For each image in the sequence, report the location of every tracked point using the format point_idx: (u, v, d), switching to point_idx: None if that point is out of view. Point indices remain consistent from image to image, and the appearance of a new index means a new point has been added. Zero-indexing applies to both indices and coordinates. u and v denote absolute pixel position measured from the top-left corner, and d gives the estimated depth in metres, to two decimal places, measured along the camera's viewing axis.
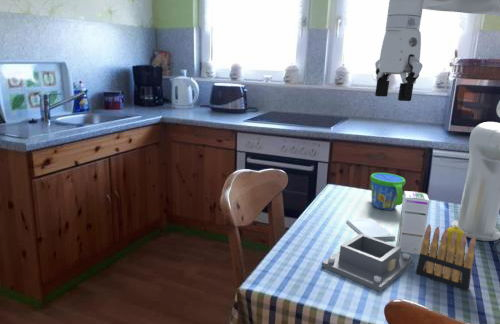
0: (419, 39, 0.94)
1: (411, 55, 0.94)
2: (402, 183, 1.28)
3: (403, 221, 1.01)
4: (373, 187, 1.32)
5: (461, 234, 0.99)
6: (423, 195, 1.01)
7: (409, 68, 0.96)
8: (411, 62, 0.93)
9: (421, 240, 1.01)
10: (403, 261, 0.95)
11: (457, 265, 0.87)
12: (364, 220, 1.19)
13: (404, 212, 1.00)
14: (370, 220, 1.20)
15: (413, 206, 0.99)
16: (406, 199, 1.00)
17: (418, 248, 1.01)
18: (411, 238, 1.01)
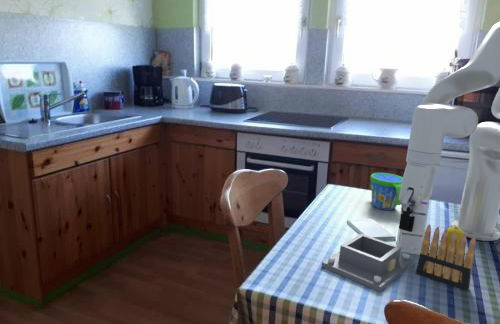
0: None
1: None
2: None
3: None
4: (373, 187, 1.32)
5: (461, 234, 0.99)
6: None
7: None
8: None
9: (421, 240, 1.01)
10: (403, 261, 0.95)
11: (457, 265, 0.87)
12: (364, 220, 1.19)
13: None
14: (370, 220, 1.20)
15: None
16: None
17: (418, 248, 1.01)
18: (411, 238, 1.01)
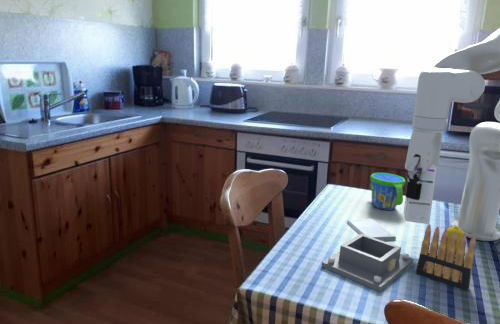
0: None
1: None
2: (402, 183, 1.28)
3: None
4: (373, 187, 1.32)
5: (461, 234, 0.99)
6: None
7: None
8: None
9: (429, 208, 0.99)
10: (403, 261, 0.95)
11: (457, 265, 0.87)
12: (365, 220, 1.19)
13: None
14: (371, 220, 1.20)
15: None
16: None
17: (426, 217, 1.00)
18: (419, 207, 1.00)
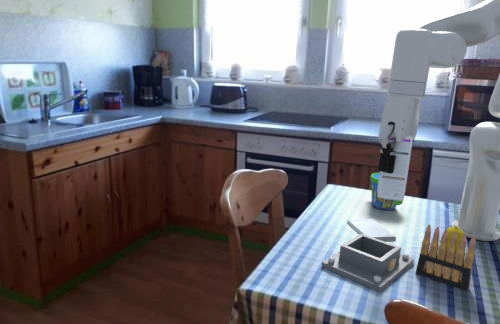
0: None
1: None
2: None
3: None
4: (373, 187, 1.32)
5: (461, 234, 0.99)
6: None
7: None
8: None
9: (403, 184, 0.90)
10: (403, 261, 0.95)
11: (457, 265, 0.87)
12: (365, 220, 1.19)
13: None
14: (371, 220, 1.20)
15: None
16: None
17: (400, 193, 0.90)
18: (393, 181, 0.90)
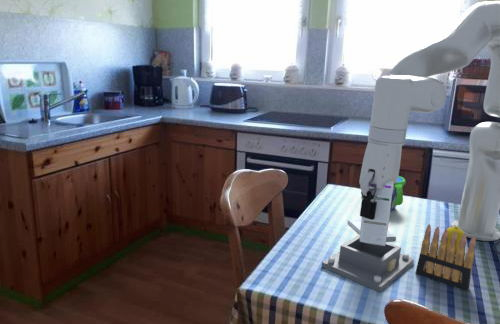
0: None
1: None
2: (402, 183, 1.28)
3: None
4: None
5: (461, 234, 0.99)
6: None
7: None
8: None
9: (385, 229, 0.89)
10: (403, 261, 0.95)
11: (457, 265, 0.87)
12: None
13: None
14: None
15: None
16: None
17: (382, 238, 0.90)
18: (374, 226, 0.90)
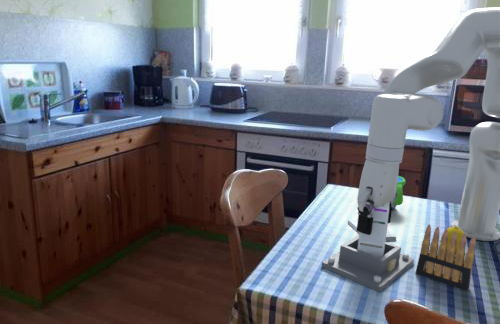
0: None
1: None
2: (402, 183, 1.28)
3: None
4: None
5: (461, 234, 0.99)
6: None
7: None
8: None
9: (381, 252, 0.91)
10: (403, 261, 0.95)
11: (457, 265, 0.87)
12: None
13: None
14: None
15: None
16: None
17: None
18: (370, 249, 0.91)
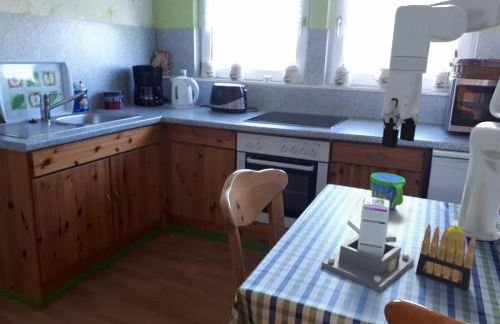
0: None
1: None
2: (402, 183, 1.28)
3: (361, 230, 0.91)
4: (373, 187, 1.32)
5: (461, 234, 0.99)
6: (384, 201, 0.91)
7: None
8: None
9: (381, 252, 0.91)
10: (403, 261, 0.95)
11: (457, 265, 0.87)
12: None
13: (362, 220, 0.90)
14: None
15: (371, 213, 0.89)
16: (363, 206, 0.90)
17: None
18: (370, 249, 0.91)
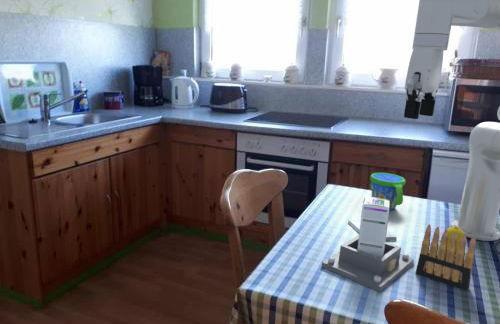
0: None
1: None
2: (402, 183, 1.28)
3: (361, 230, 0.91)
4: (373, 187, 1.32)
5: (461, 234, 0.99)
6: (384, 202, 0.91)
7: None
8: None
9: (381, 252, 0.91)
10: (403, 261, 0.95)
11: (457, 265, 0.87)
12: None
13: (362, 220, 0.90)
14: None
15: (371, 213, 0.89)
16: (363, 206, 0.89)
17: None
18: (370, 249, 0.91)
